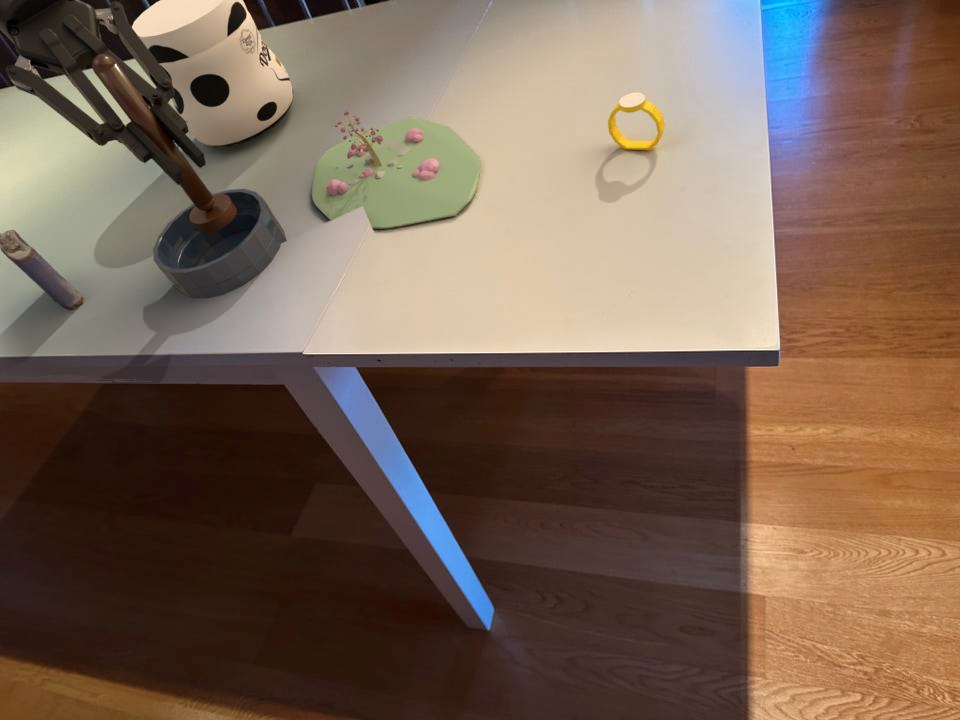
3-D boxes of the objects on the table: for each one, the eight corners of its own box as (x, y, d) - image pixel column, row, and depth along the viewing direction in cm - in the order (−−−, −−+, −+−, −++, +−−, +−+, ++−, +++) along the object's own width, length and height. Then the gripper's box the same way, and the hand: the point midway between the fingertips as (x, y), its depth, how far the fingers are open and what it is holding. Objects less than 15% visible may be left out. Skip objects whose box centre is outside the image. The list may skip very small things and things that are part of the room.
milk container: (322, 92, 104) (264, -29, 90) (256, 162, 96) (181, 41, 82) (245, 89, 112) (181, -22, 98) (178, 154, 104) (98, 42, 90)
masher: (198, 239, 75) (70, 77, 60) (195, 216, 78) (73, 57, 63) (239, 220, 75) (121, 54, 60) (234, 198, 78) (122, 35, 63)
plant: (525, 134, 82) (508, 66, 75) (436, 248, 73) (408, 182, 67) (374, 118, 95) (348, 57, 88) (282, 213, 86) (245, 154, 79)
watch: (668, 141, 74) (665, 93, 70) (660, 157, 73) (656, 108, 68) (617, 137, 77) (611, 90, 72) (608, 152, 76) (602, 105, 71)
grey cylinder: (88, 299, 85) (22, 237, 77) (68, 315, 84) (0, 254, 76) (62, 276, 91) (-2, 215, 83) (44, 290, 90) (-23, 230, 82)
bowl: (186, 326, 77) (154, 291, 72) (181, 257, 86) (152, 221, 81) (298, 275, 77) (272, 236, 72) (280, 211, 86) (257, 173, 82)
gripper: (88, -26, 71) (249, 142, 74) (-41, 51, 66) (135, 227, 69) (69, -79, 64) (247, 109, 67) (-78, 3, 59) (121, 201, 62)
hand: (190, 169), depth 68 cm, fingers closed on masher, 2 cm apart
